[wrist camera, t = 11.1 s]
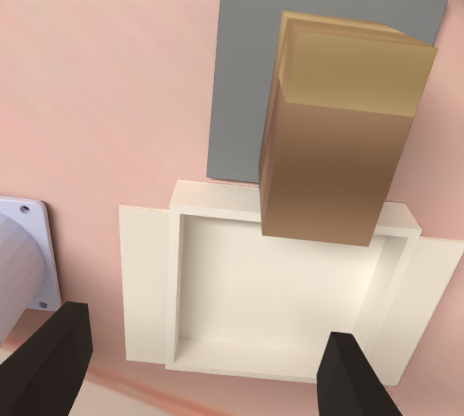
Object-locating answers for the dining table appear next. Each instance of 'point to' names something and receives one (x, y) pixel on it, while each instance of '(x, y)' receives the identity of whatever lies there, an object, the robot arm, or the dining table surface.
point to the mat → (262, 62)
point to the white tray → (271, 288)
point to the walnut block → (336, 125)
